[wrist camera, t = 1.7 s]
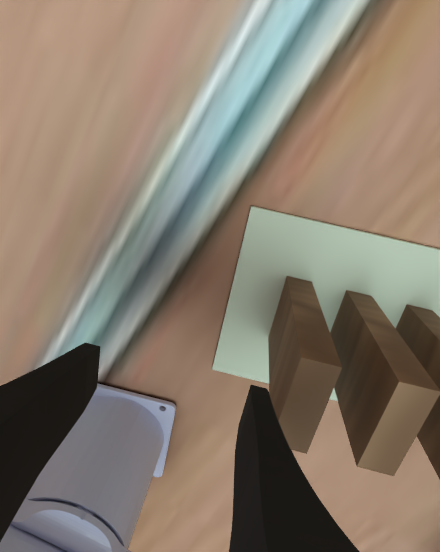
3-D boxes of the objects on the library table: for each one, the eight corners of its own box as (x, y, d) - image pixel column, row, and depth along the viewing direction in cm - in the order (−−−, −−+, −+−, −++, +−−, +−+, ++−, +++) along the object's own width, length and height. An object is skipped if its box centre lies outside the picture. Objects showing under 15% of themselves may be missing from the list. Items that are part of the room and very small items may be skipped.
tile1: (268, 337, 23) (270, 444, 15) (286, 275, 21) (301, 357, 13) (291, 342, 23) (306, 453, 15) (311, 281, 21) (342, 367, 13)
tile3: (379, 364, 23) (445, 489, 14) (406, 304, 21) (499, 406, 13) (402, 370, 23) (482, 498, 14) (432, 310, 21) (542, 417, 13)
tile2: (323, 350, 23) (356, 466, 15) (346, 289, 21) (399, 381, 13) (346, 356, 23) (393, 476, 15) (371, 295, 21) (441, 392, 13)
